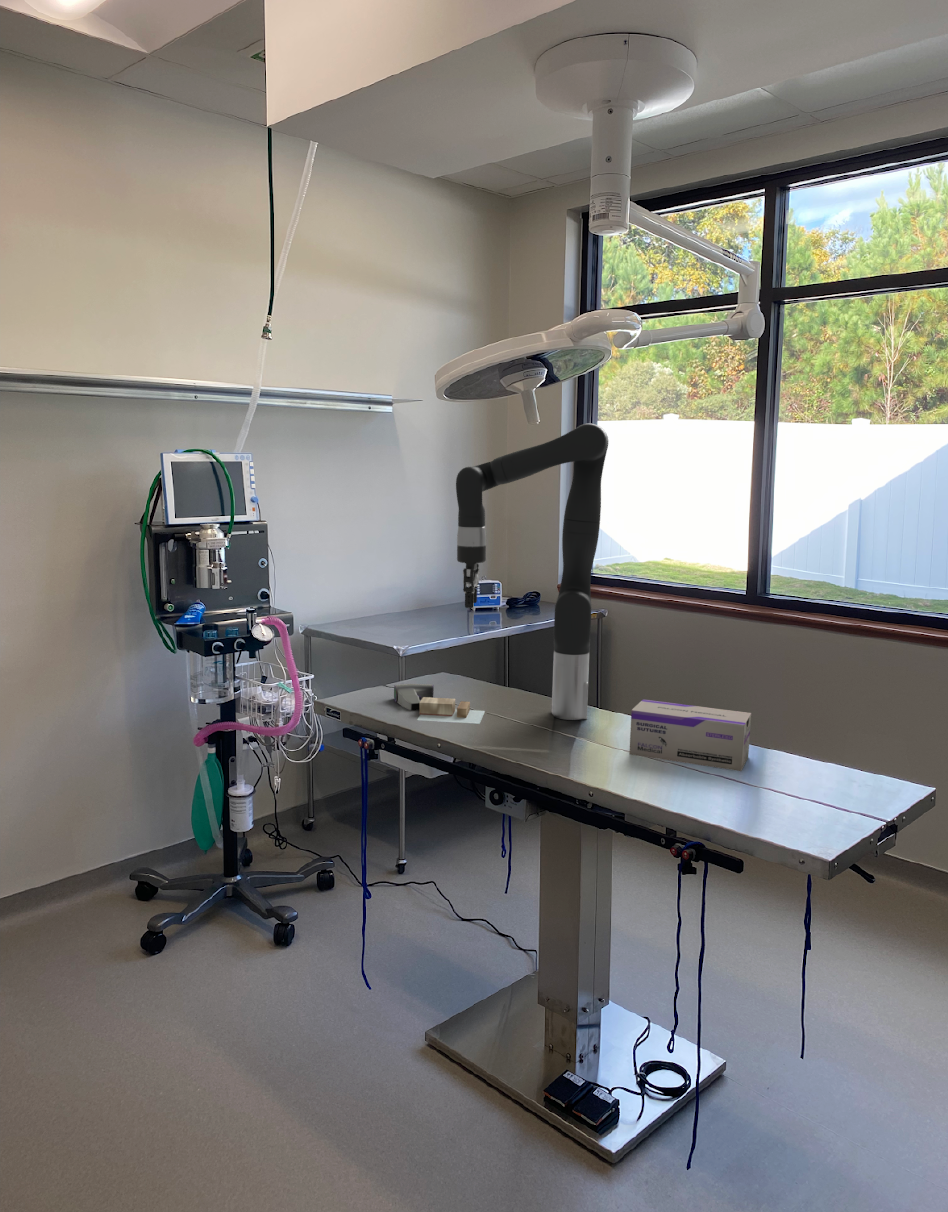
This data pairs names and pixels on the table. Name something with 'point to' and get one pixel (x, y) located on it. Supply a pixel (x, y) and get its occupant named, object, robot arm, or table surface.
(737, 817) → the table surface
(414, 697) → the infrared thermometer
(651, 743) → the surgical sutures box
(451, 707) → the wooden block
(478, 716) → the silicone mat
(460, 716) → the rail
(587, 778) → the table surface
